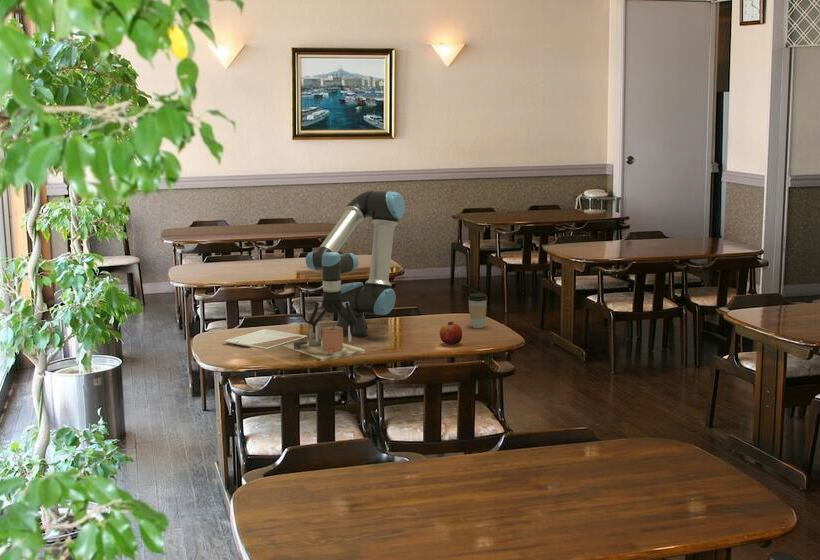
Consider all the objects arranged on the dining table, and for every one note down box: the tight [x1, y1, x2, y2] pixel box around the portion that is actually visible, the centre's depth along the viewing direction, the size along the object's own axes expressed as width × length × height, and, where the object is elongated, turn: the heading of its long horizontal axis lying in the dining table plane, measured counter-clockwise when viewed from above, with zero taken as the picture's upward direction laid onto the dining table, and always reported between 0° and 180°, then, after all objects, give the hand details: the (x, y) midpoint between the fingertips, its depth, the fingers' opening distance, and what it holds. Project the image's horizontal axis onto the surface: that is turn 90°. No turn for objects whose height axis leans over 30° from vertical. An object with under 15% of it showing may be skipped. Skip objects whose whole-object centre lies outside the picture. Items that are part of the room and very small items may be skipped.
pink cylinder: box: [321, 325, 344, 354], centre depth 405 cm, size 14×8×9 cm, turn 174°
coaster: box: [321, 347, 347, 355], centre depth 405 cm, size 11×11×1 cm
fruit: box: [439, 321, 463, 346], centre depth 417 cm, size 11×10×10 cm
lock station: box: [282, 327, 367, 363], centre depth 411 cm, size 22×30×8 cm
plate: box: [223, 328, 309, 350], centre depth 429 cm, size 26×26×2 cm
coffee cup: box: [467, 292, 489, 329], centre depth 449 cm, size 9×9×15 cm
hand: (333, 341), depth 405 cm, fingers open, 13 cm apart
